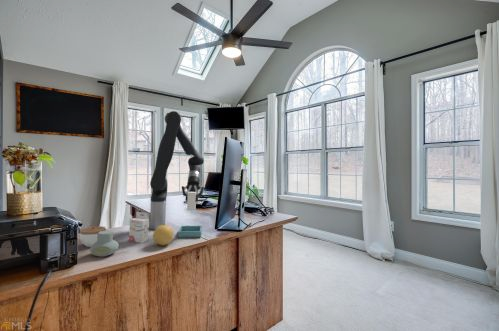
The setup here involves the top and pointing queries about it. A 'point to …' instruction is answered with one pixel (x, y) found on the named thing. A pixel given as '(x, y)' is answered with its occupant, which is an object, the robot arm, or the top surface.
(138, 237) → the ink cartridge box
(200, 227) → the tray
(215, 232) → the top surface
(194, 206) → the stop block
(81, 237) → the lidded jar
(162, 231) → the stress ball
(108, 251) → the air freshener
